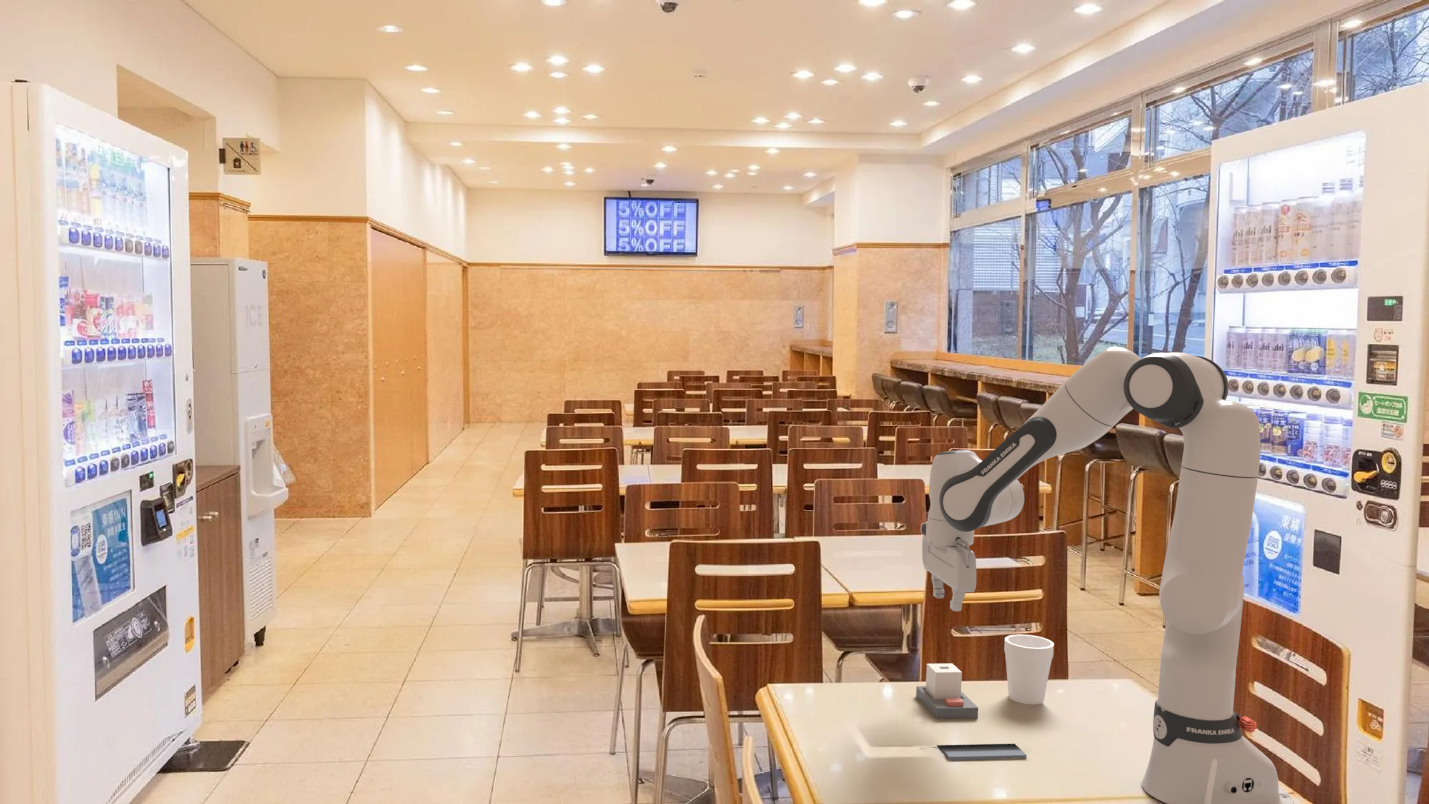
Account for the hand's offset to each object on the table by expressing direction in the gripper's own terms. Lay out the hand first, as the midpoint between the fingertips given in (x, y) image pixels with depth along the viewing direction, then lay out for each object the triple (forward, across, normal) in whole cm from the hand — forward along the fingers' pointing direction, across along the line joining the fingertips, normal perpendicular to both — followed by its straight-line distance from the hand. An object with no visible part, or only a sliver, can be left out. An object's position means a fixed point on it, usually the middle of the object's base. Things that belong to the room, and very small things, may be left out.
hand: (946, 603), depth 201 cm
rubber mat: (+21, -17, 0) cm, 27 cm away
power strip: (+21, -2, 0) cm, 21 cm away
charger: (+20, 0, 0) cm, 20 cm away
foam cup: (+21, +2, -18) cm, 28 cm away
